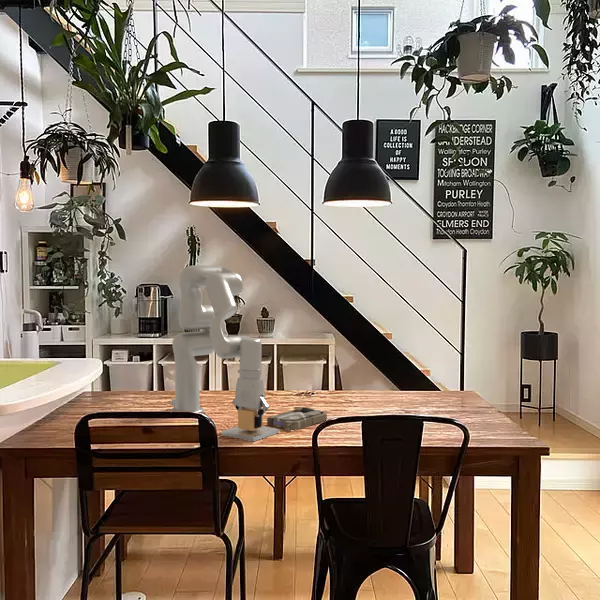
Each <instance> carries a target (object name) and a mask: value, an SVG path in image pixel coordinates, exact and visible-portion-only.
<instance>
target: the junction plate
mask: <svg viewBox="0 0 600 600" xmlns="http://www.w3.org/2000/svg"><path fill="white" fill-rule="evenodd" d="M279 430H280V429H279V428H276V427H272V426H271V427H270V426H265V425H263V427H262V428H259V429H256V430H253V431H249V430H244V429H239V428H238V425H237V426H235V427H230V428H228V429H224V430H221V436H222V435H224V437H227V436H229V437H228V438H232V437H235V438H234V439H237V438H240V439H239V440H242V439H246V440H245V441H247V440H250V441H249V442H251V441H255V442H257V441H260V440H263V439H266V438H268V437H267V436H269V437H271V436H270V435H272V436H274V435H273V434H275V435H277V434H276V433H278V434H279V433H280V431H279ZM265 437H266V438H265ZM262 438H263V439H262ZM259 439H260V440H259ZM256 440H257V441H256Z"/></svg>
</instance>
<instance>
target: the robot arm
mask: <svg viewBox="0 0 600 600" xmlns="http://www.w3.org/2000/svg"><path fill="white" fill-rule="evenodd" d="M178 279H179V280H178V282H179V288H180V299H179V300H180V301H179V302H180V303H179V312H178V314H179V315H178V325H179V327H180V328H181V329H182V330H187V331H188V332H187V331H186V332H181V333H178V334H176V335H175V336H174V337H173V339H172V343H171V345H172V346H171V347H172V353H173V356H174V374H175V375H174V378H175V379H174V381H175V382H174V384H175V385H174V386H175V387H174V389H175V390H174V393H175V394H174V396H175V397H174V398H173V399H171V400H170V401H169V405H171V406H173V407H172V408H171V411H190V412H200V413H199V414H202V413H203V412H204V407H202V406H200V403H201V402H200V397H201V396H200V393H201V392H200V366H199V363H198V362H197V360H196V358H195V357H197V356H208V355H211V354H213V353H215V354H216V356H217V357H219V358H220V359H233V358H239V369H238V370H237V373H238V374H239V377H237V380H236V383H235V384H236V385H235V390H234V392H235V395H234V399H233V400H232V405H233V406H234V407H235V409H236V410H237V412H238V410H239V409H242V408H250V409H254V411H255V415H256V417H255V418H254V428H259V427H261V424H262V416H263V415H264V414H265V413H266V412H267V410H269V408H270V405H269V404H268V403H267V401H266V396H265V394H266V393H265V385H264V380H263V378H262V358H263V357H262V354H263V353H262V351H263V349H262V345H263V344H262V340H261V339H260V338H256V337H255V338H254V337H251V336H248V335H234V336H233V335H232V336H225V335H224V332H223V328H222V322H224V321H225V320H228V319H230V318H231V317H232V316H234V315H235V314H236V313H237V312H238V306H237V304H236V300H235V297H234V296H239V295H240V294H241V293H242V292H243V289H244V282H243V279H242V277H241V276H240V274H239V273H237V272H235V271H234V270H232V269H229V268H227V267H226V266H222V265H199V264H198V265H187V266H185V267H183V269H182V270H181V272H180V274H179V278H178ZM202 288H205V290H206V293H207V296H208V299H209V302H210V305H209V304H203V301H204V299H203V298H204V297H203V292H202V290H201V289H202ZM193 330H196V331H193ZM197 330H201V331H197ZM258 410H259V412H258ZM263 417H264V416H263Z"/></svg>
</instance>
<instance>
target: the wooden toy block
mask: <svg viewBox="0 0 600 600" xmlns="http://www.w3.org/2000/svg"><path fill="white" fill-rule="evenodd" d="M258 412H259V410H258ZM255 417H256V415H255V411H254V409H250V408H242V409H239V410H238V411H237V426H238V428H239V429H244V430H249V431H253V430H256V429H259V428H262V427H263V426H264V425H263V423H264V421H263V420H264V419H263V417H264V416H262V424H261V427H259V428H254V418H255Z"/></svg>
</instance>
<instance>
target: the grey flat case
mask: <svg viewBox="0 0 600 600" xmlns="http://www.w3.org/2000/svg"><path fill="white" fill-rule="evenodd" d="M266 418H267V419H266V420H267V421H266V424H267V426H270V425H274V426H273V427H275V426H278V427H277V428H280V427H283V428H282V429H283V430H284V429H287V430H294V431H296V430H295V429H298V430H300V429H299V428H301V429H304V428H307V427H310V426H309V425H311V426H312V425H316V424H319V423H323V422H326V421H327V419H328V414H327V412H326V411H325V410H323V411H320V410H319V409H314V408H311V407H306V406H305V407H304V406H297V407H295V408H294V409H293V410H289V411H286V412H283V413H278V414H275V415H272V416H270V417H269V416H268V417H266ZM325 420H326V421H325ZM306 426H307V427H306ZM303 427H304V428H303ZM287 430H286V431H287Z"/></svg>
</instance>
